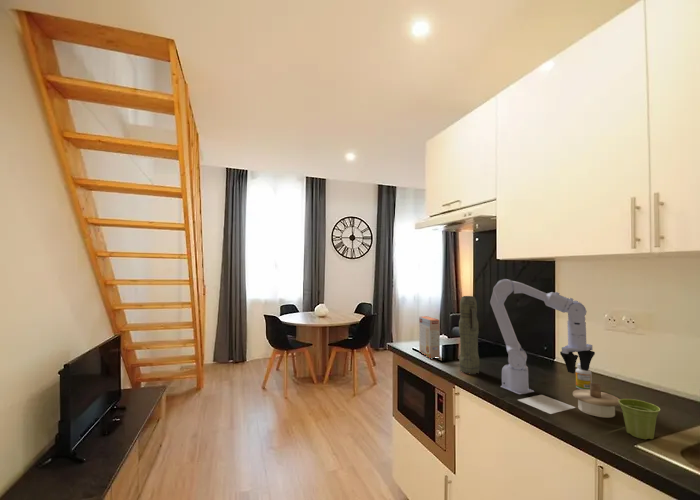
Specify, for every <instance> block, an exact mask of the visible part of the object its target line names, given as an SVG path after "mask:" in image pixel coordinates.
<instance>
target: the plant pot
mask: <svg viewBox="0 0 700 500" xmlns="http://www.w3.org/2000/svg"><path fill="white" fill-rule="evenodd" d="M619 399H620V398H619ZM618 402H619V404H620V405H619V407H620V408H621V410H622V411H621V412H622V415H623V421H624V425H625V430H626V431H625V432H626V433H627V434H629V435H631V436H632V437H635V438H637V439H642V440H648V439H649V440H653V439H655V433H656V432H655V430H656V424H657V418H658V415H659V413H660V412H661V408H660V407H659V406H657V405H656V404H653V403H651V402H647V401H644V400H640V399H634V398H621V399H620V400H618Z"/></svg>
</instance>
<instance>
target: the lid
mask: <svg viewBox="0 0 700 500" xmlns="http://www.w3.org/2000/svg"><path fill="white" fill-rule="evenodd" d="M572 397H574V398H575V399H576V400H577V401H578V400H580V401H583V402H586V403H589V404H593V405H599V406H608V407H612V406H615V407H618V406H620V404H619V402H618V400H620V398H619V397H617V396H615V395H613V394H611V393H607V392H603V391H602V386H601V384H600V383H597V382H592V383H590V390H585V389H581V390H580V389H575V390H573V391H572Z"/></svg>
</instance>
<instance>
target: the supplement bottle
mask: <svg viewBox="0 0 700 500" xmlns="http://www.w3.org/2000/svg"><path fill="white" fill-rule="evenodd" d="M576 365H577V367H576V368H575V388H577V390H581V389H585V390H590V383H593V377H592V375H593V373H592V370H590V368H589V369H588V371H585V370H581V366H580V362H578V363H576Z"/></svg>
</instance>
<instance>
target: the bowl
mask: <svg viewBox="0 0 700 500" xmlns="http://www.w3.org/2000/svg"><path fill="white" fill-rule="evenodd" d="M577 408H578V410H580V411H581V412H582V413H585V414H587V415H590V416H593V417H594V416H595V417H598V418H608V419H609V418H614V417H615V416H616V406H612V407H608V406H599V405H593V404H589V403H586V402H583V401H580V400H578V399H577Z"/></svg>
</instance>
